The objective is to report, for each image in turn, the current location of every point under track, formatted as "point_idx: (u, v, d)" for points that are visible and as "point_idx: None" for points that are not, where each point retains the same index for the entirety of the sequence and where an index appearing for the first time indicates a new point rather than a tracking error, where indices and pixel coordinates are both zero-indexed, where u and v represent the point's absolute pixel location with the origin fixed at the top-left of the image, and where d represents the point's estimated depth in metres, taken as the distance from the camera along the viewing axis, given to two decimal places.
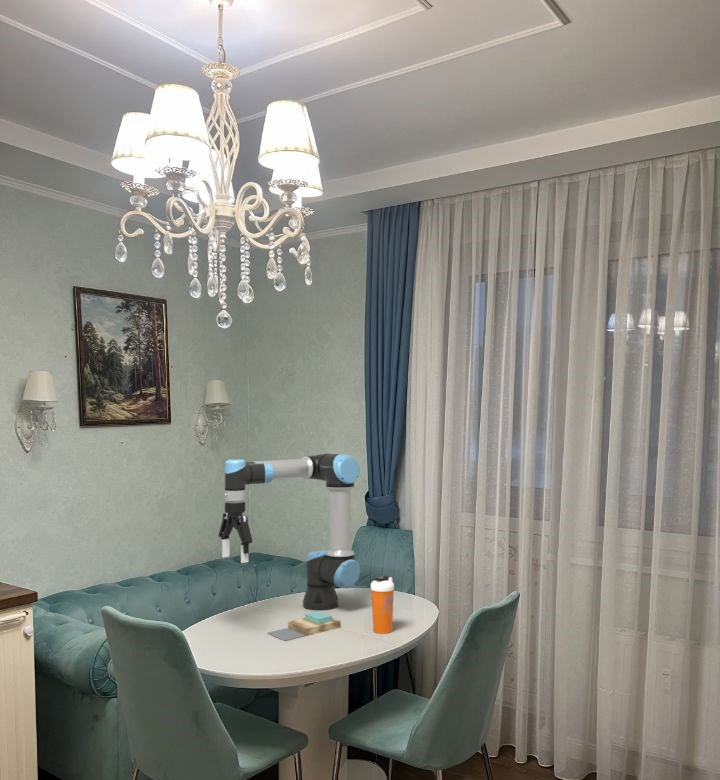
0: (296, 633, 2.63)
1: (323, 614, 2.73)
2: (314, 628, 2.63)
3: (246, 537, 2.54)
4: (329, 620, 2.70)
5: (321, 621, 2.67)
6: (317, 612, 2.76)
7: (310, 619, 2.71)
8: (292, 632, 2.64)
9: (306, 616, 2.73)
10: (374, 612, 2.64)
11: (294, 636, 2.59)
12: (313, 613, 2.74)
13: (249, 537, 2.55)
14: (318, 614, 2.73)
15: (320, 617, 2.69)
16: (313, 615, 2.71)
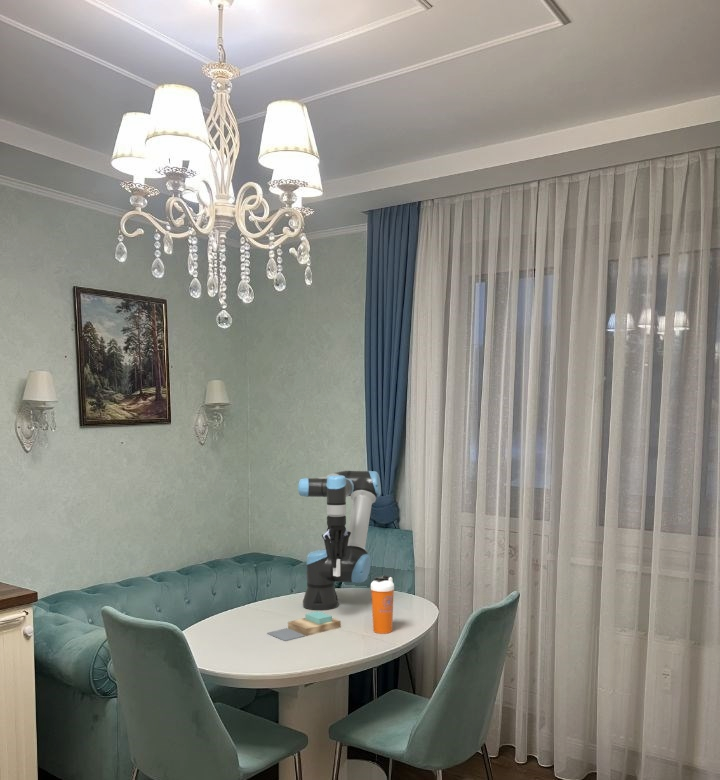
0: (296, 633, 2.63)
1: (323, 614, 2.73)
2: (314, 628, 2.63)
3: (327, 553, 2.77)
4: (329, 620, 2.70)
5: (321, 621, 2.67)
6: (317, 612, 2.76)
7: (310, 619, 2.71)
8: (292, 632, 2.64)
9: (306, 616, 2.73)
10: (374, 612, 2.64)
11: (294, 636, 2.59)
12: (313, 613, 2.74)
13: (329, 554, 2.76)
14: (318, 614, 2.73)
15: (320, 617, 2.69)
16: (313, 615, 2.71)
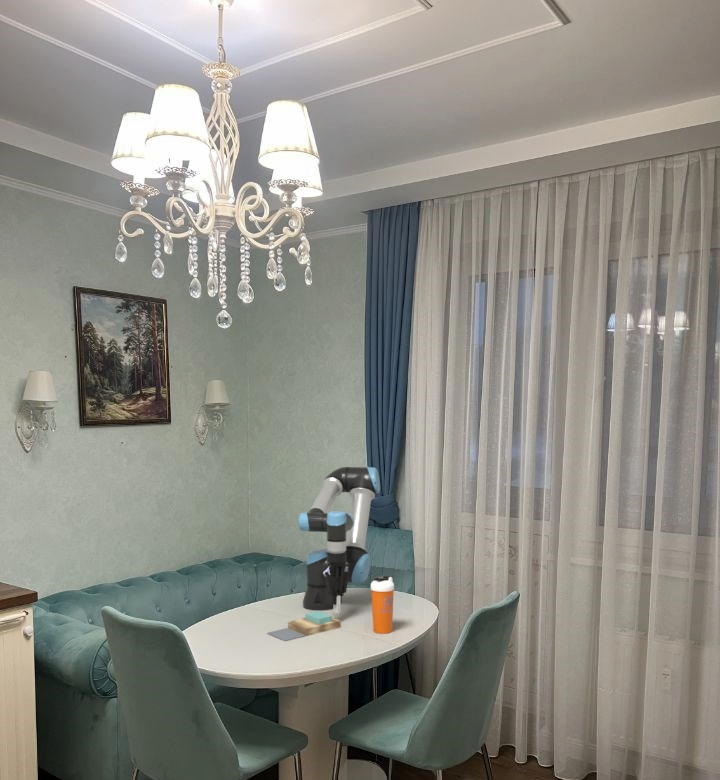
0: (296, 633, 2.63)
1: (323, 614, 2.73)
2: (314, 628, 2.63)
3: (327, 590, 2.76)
4: (329, 620, 2.70)
5: (321, 621, 2.67)
6: (317, 612, 2.76)
7: (310, 619, 2.71)
8: (292, 632, 2.64)
9: (306, 616, 2.73)
10: (374, 612, 2.64)
11: (294, 636, 2.59)
12: (313, 613, 2.74)
13: (329, 591, 2.75)
14: (318, 614, 2.73)
15: (320, 617, 2.69)
16: (313, 615, 2.71)
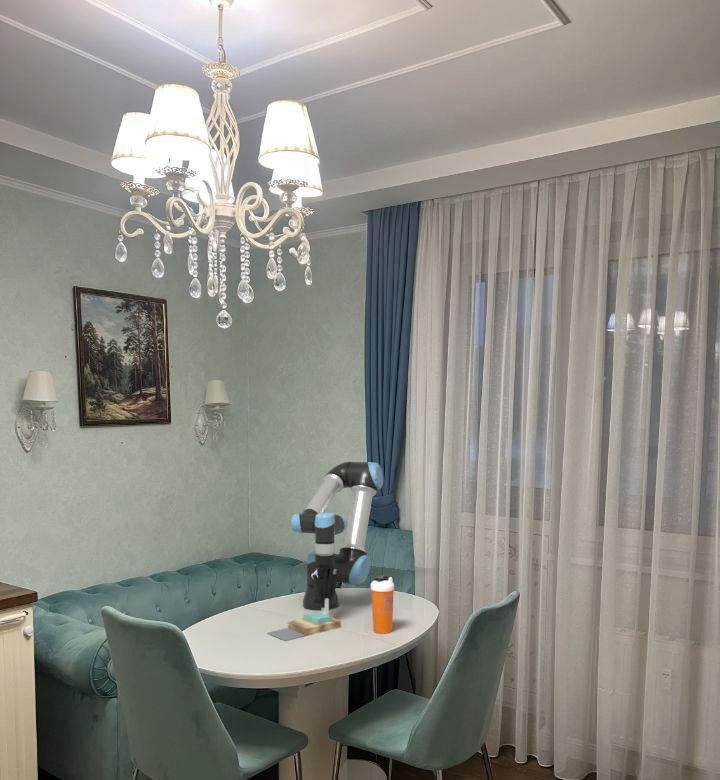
0: (296, 633, 2.63)
1: (322, 614, 2.72)
2: (314, 628, 2.63)
3: (315, 593, 2.72)
4: (328, 620, 2.69)
5: (319, 621, 2.67)
6: (315, 612, 2.75)
7: (309, 619, 2.70)
8: (292, 632, 2.64)
9: (304, 616, 2.72)
10: (374, 612, 2.64)
11: (294, 636, 2.59)
12: (312, 614, 2.73)
13: (317, 594, 2.71)
14: (317, 614, 2.72)
15: (319, 617, 2.68)
16: (312, 615, 2.71)
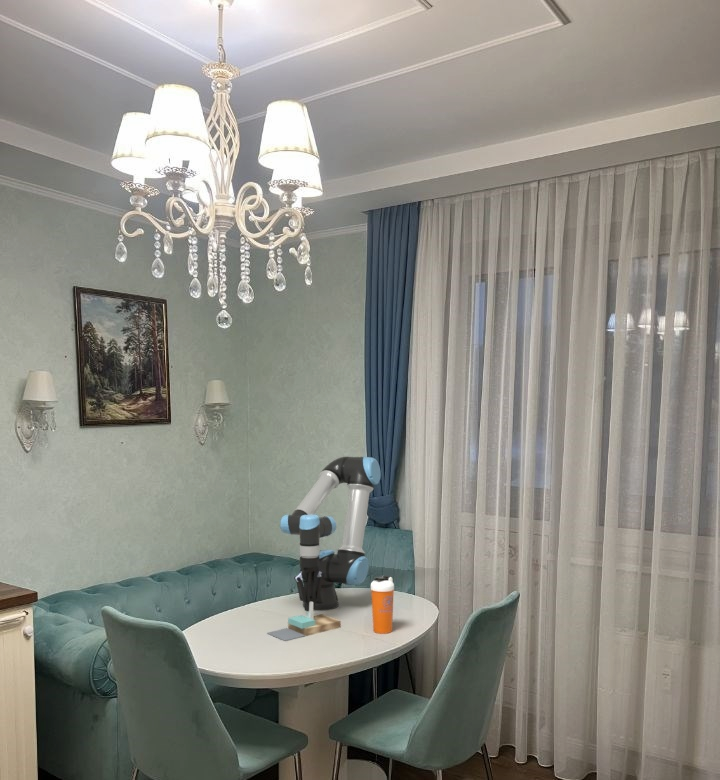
0: (296, 633, 2.63)
1: (306, 618, 2.67)
2: (314, 628, 2.63)
3: (299, 596, 2.68)
4: (312, 624, 2.64)
5: (304, 625, 2.62)
6: (300, 616, 2.70)
7: (293, 623, 2.66)
8: (292, 632, 2.64)
9: (289, 620, 2.68)
10: (374, 612, 2.64)
11: (294, 636, 2.59)
12: (296, 617, 2.69)
13: (301, 597, 2.67)
14: (302, 618, 2.68)
15: (303, 621, 2.63)
16: (296, 619, 2.66)
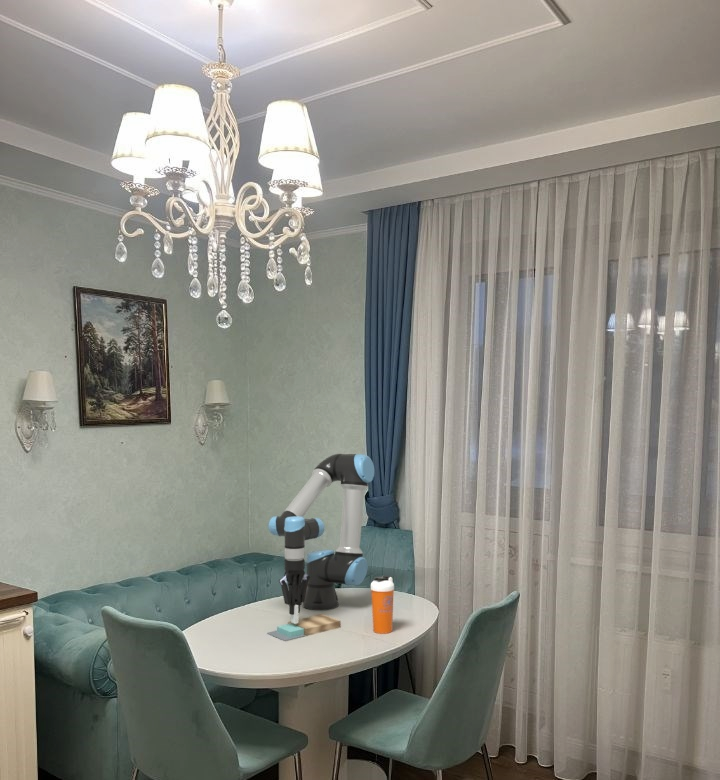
0: None
1: (295, 627, 2.64)
2: (314, 628, 2.63)
3: (284, 599, 2.63)
4: (301, 633, 2.61)
5: (292, 634, 2.59)
6: (289, 624, 2.67)
7: (281, 632, 2.62)
8: None
9: (278, 629, 2.64)
10: (374, 612, 2.64)
11: None
12: (285, 626, 2.65)
13: (286, 600, 2.62)
14: (290, 627, 2.64)
15: (291, 630, 2.60)
16: (285, 628, 2.63)
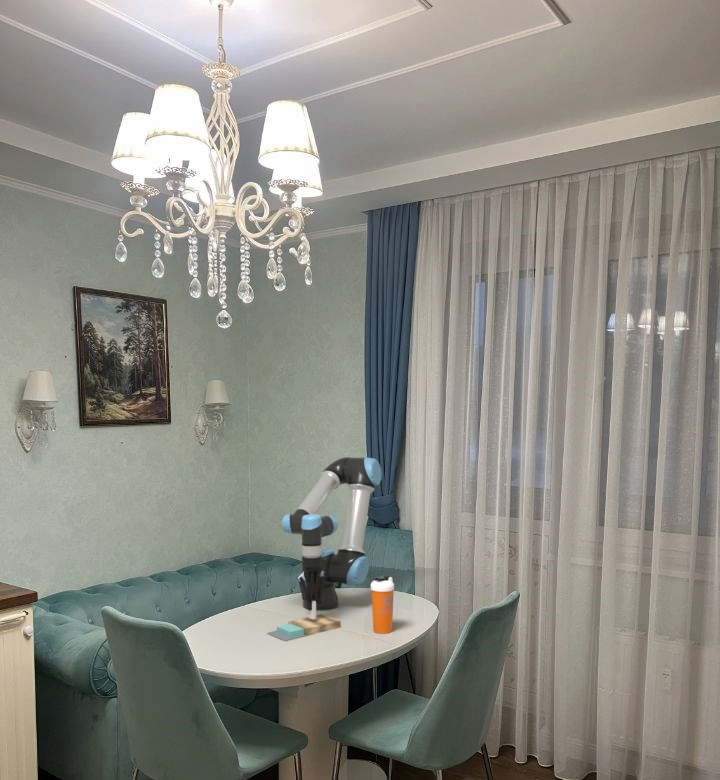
0: None
1: (295, 627, 2.64)
2: (314, 628, 2.63)
3: (302, 595, 2.69)
4: (301, 633, 2.61)
5: (292, 634, 2.59)
6: (289, 624, 2.67)
7: (281, 632, 2.62)
8: None
9: (278, 629, 2.64)
10: (374, 612, 2.64)
11: None
12: (285, 626, 2.65)
13: (304, 596, 2.68)
14: (290, 627, 2.64)
15: (291, 630, 2.60)
16: (285, 628, 2.63)
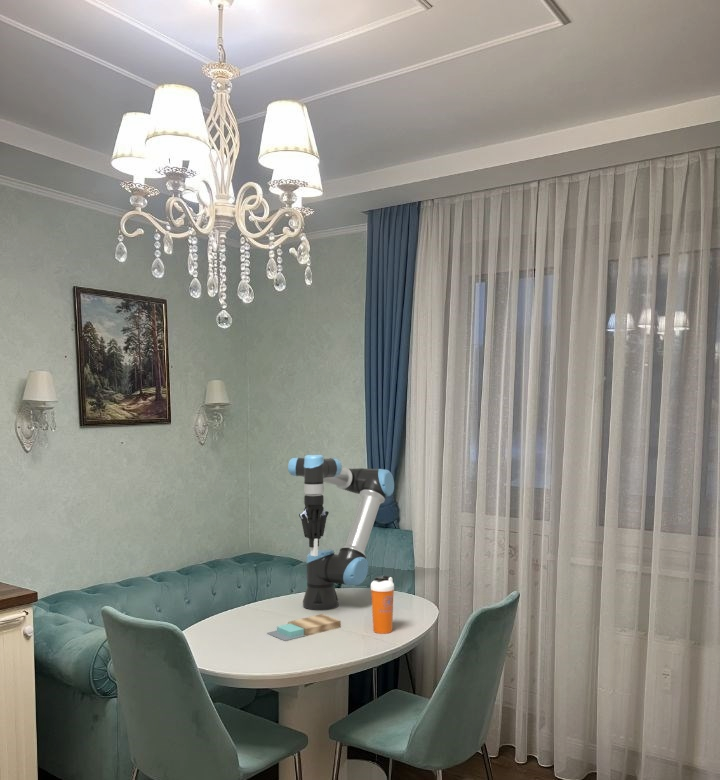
0: None
1: (295, 627, 2.64)
2: (314, 628, 2.63)
3: (304, 533, 2.75)
4: (301, 633, 2.61)
5: (292, 634, 2.59)
6: (289, 624, 2.67)
7: (281, 632, 2.62)
8: None
9: (278, 629, 2.64)
10: (374, 612, 2.64)
11: None
12: (285, 626, 2.65)
13: (306, 533, 2.74)
14: (290, 627, 2.64)
15: (291, 630, 2.60)
16: (285, 628, 2.63)
